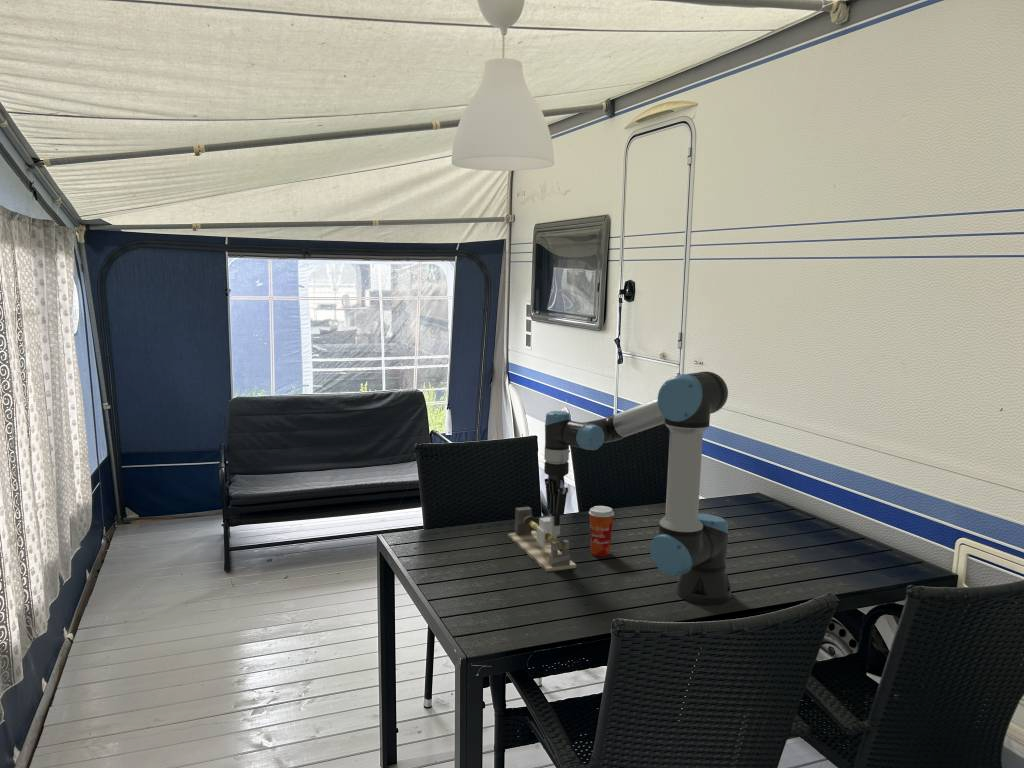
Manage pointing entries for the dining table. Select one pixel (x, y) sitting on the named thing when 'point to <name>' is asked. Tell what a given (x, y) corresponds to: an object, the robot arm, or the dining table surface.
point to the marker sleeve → (544, 531)
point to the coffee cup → (600, 530)
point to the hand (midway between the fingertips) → (554, 534)
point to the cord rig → (528, 542)
